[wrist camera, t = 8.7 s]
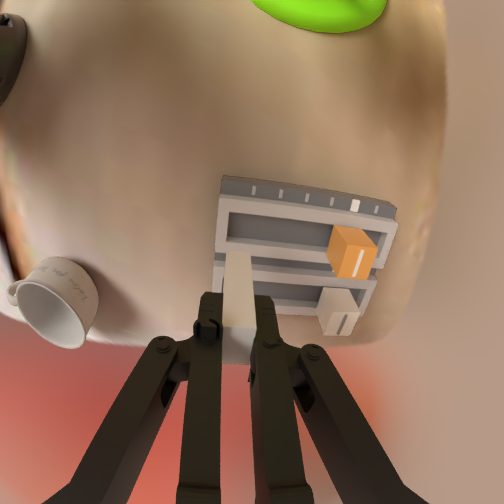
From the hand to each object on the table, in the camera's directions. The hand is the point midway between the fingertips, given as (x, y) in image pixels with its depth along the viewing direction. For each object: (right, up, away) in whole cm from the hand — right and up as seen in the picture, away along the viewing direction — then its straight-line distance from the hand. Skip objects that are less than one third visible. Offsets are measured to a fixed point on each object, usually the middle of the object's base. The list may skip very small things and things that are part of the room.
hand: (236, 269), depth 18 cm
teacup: (-25, -2, +14) cm, 28 cm away
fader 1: (+10, +3, +9) cm, 14 cm away
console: (+6, +1, +12) cm, 14 cm away
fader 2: (+10, -3, +12) cm, 16 cm away
